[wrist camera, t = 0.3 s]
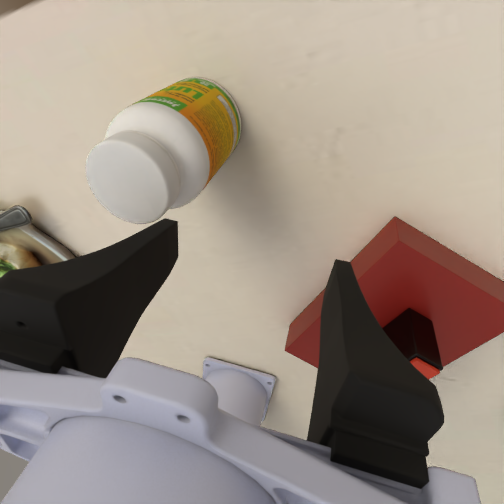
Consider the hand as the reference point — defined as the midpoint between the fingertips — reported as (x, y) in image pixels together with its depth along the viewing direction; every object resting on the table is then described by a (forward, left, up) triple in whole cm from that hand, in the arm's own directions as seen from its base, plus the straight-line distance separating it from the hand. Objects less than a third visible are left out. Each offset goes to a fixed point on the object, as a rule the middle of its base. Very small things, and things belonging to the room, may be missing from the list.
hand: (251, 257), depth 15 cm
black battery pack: (-10, -10, -7) cm, 16 cm away
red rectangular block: (-10, -10, -10) cm, 17 cm away
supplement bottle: (+2, +6, -10) cm, 12 cm away
